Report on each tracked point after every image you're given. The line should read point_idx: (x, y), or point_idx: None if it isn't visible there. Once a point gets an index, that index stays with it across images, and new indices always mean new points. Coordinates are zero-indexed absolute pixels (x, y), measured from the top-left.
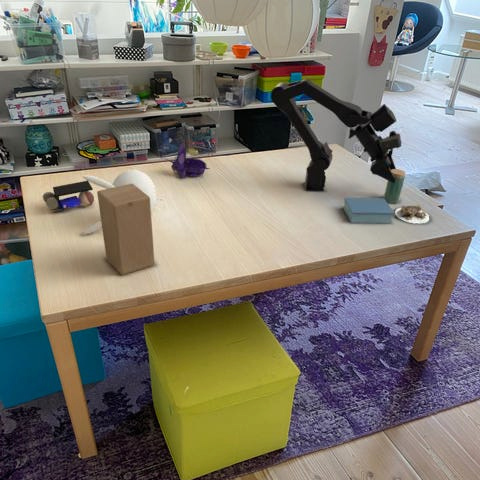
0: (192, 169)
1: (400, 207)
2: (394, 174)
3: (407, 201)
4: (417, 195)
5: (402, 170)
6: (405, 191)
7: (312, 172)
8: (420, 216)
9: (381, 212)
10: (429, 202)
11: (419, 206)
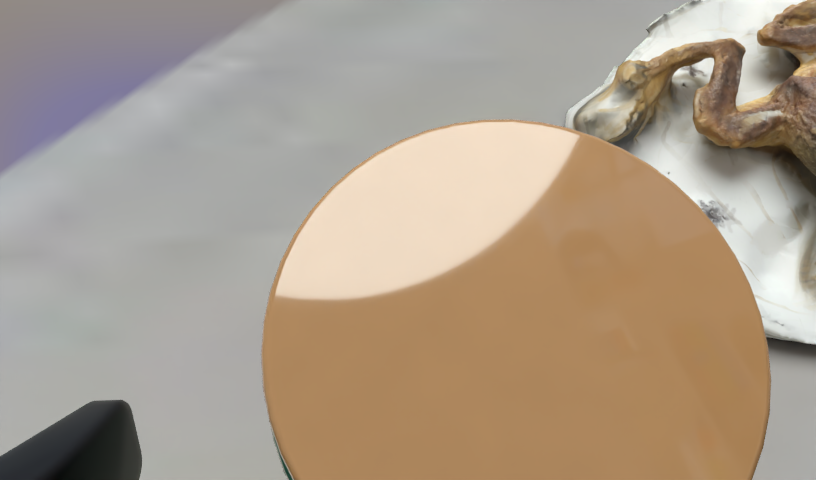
0: None
1: None
2: (754, 431)
3: None
4: (159, 131)
5: (324, 206)
6: (70, 272)
7: None
8: (784, 68)
9: None
10: (317, 13)
11: (658, 62)
